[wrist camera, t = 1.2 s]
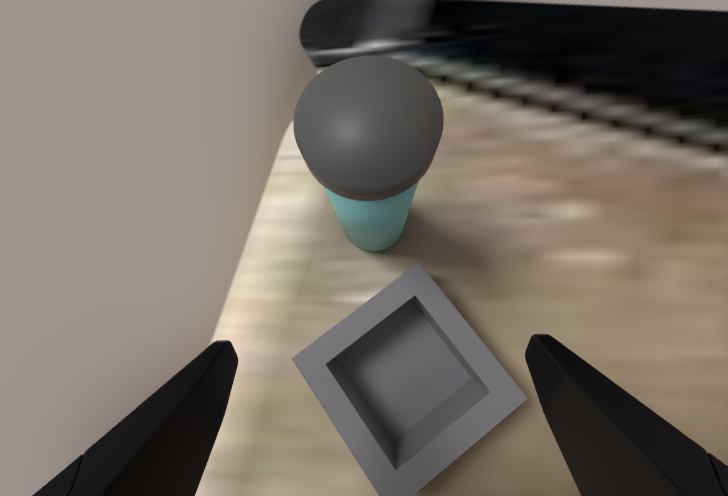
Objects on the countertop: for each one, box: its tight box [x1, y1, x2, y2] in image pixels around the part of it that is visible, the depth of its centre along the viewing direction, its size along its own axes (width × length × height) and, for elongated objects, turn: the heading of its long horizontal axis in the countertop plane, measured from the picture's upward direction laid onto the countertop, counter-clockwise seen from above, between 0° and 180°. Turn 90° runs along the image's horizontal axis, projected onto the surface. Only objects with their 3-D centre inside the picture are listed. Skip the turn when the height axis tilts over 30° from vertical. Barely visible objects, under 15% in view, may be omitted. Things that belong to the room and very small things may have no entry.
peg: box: [294, 56, 443, 252], centre depth 17 cm, size 6×6×13 cm
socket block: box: [292, 262, 528, 496], centre depth 19 cm, size 10×10×4 cm
